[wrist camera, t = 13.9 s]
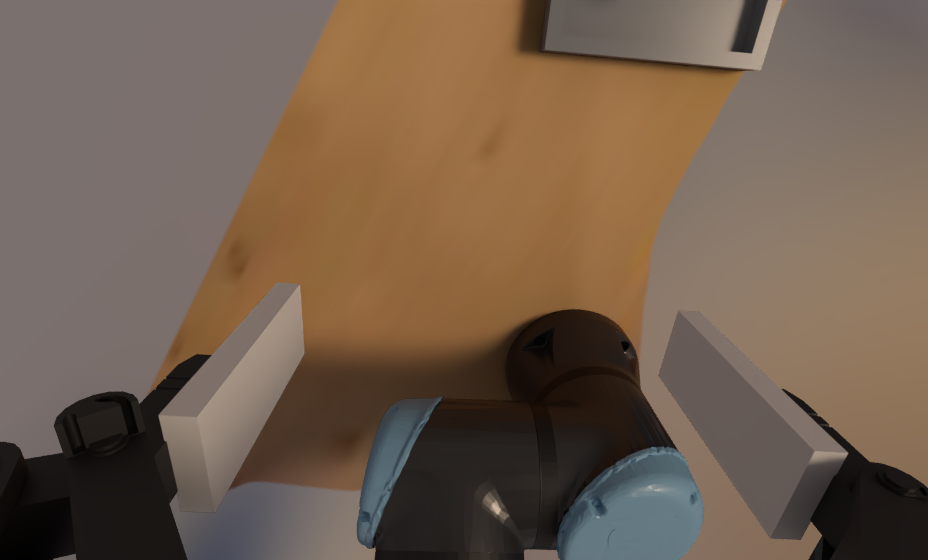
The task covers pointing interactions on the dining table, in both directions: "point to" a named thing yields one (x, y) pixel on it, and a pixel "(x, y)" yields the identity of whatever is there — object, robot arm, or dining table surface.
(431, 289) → the dining table surface
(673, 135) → the dining table surface
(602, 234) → the dining table surface
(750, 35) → the tray
